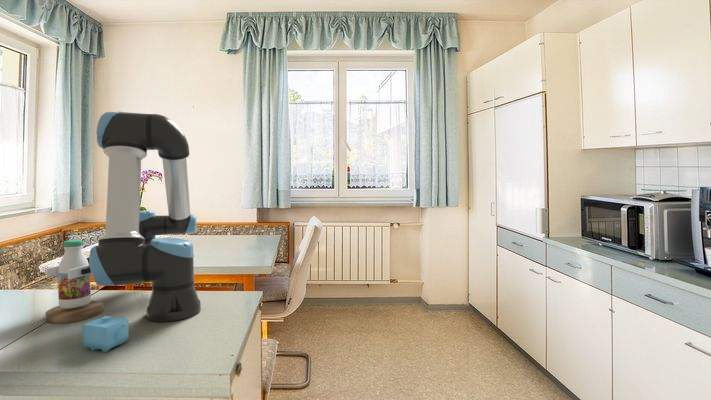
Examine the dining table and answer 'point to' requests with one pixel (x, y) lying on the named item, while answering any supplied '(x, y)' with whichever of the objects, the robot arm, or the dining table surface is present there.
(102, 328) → the light blue box
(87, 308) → the brown round coaster
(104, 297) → the dining table surface
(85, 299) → the milk bottle
